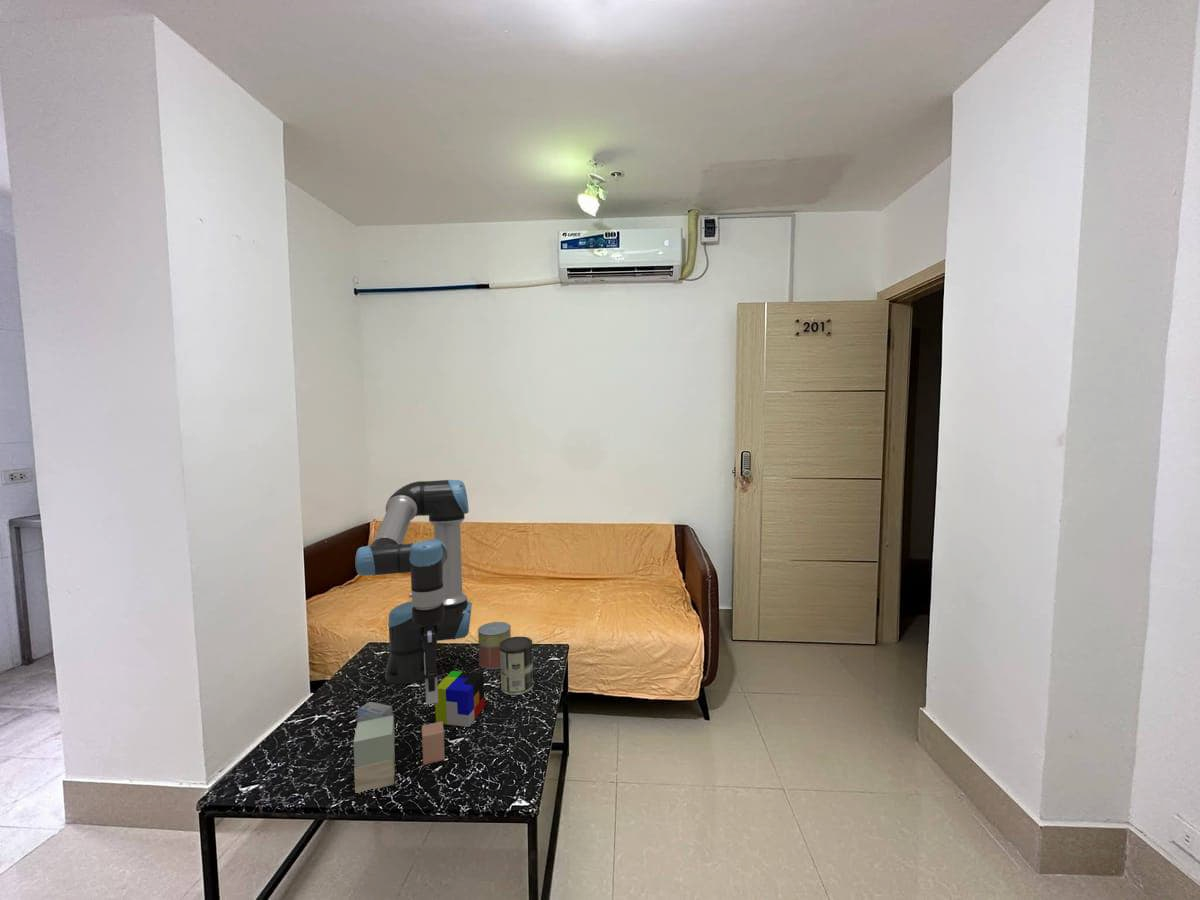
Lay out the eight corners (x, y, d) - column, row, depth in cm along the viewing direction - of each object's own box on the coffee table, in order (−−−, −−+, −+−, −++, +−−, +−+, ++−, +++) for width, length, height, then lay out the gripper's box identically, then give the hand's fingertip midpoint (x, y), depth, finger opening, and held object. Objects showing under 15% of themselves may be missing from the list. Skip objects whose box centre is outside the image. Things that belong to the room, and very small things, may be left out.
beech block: (359, 771, 118) (357, 747, 118) (395, 763, 121) (394, 739, 121) (355, 794, 111) (354, 768, 110) (393, 784, 114) (392, 759, 113)
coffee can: (524, 675, 163) (523, 633, 162) (539, 688, 154) (537, 644, 154) (495, 684, 157) (494, 641, 157) (508, 699, 149) (507, 653, 148)
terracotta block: (423, 752, 125) (421, 725, 124) (443, 747, 126) (442, 721, 126) (423, 764, 120) (422, 737, 120) (444, 759, 122) (443, 732, 121)
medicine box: (394, 737, 131) (393, 705, 131) (381, 747, 127) (380, 714, 127) (371, 731, 134) (369, 700, 134) (358, 741, 130) (356, 709, 129)
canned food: (507, 651, 181) (506, 619, 180) (515, 664, 170) (514, 630, 170) (476, 658, 176) (474, 625, 175) (482, 672, 166) (481, 637, 165)
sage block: (358, 746, 118) (357, 722, 118) (394, 738, 121) (393, 715, 121) (354, 768, 111) (353, 742, 110) (393, 759, 113) (392, 733, 113)
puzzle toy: (469, 727, 135) (467, 691, 135) (435, 723, 137) (434, 688, 137) (484, 706, 145) (483, 673, 144) (453, 703, 147) (452, 670, 147)
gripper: (412, 592, 132) (414, 669, 133) (411, 625, 109) (415, 719, 109) (441, 588, 135) (444, 664, 135) (447, 619, 111) (450, 711, 112)
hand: (431, 689), depth 122 cm, fingers open, 13 cm apart
